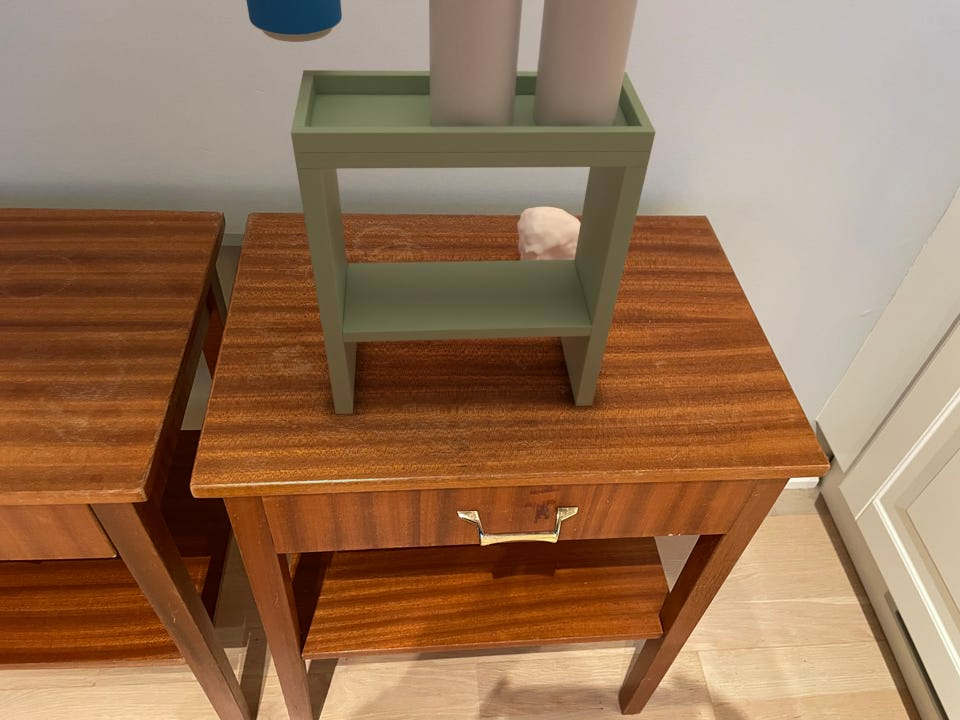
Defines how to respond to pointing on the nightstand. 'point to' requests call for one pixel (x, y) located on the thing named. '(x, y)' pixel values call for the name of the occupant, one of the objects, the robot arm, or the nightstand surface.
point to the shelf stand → (473, 286)
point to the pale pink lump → (547, 234)
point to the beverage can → (295, 18)
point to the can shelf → (413, 143)
